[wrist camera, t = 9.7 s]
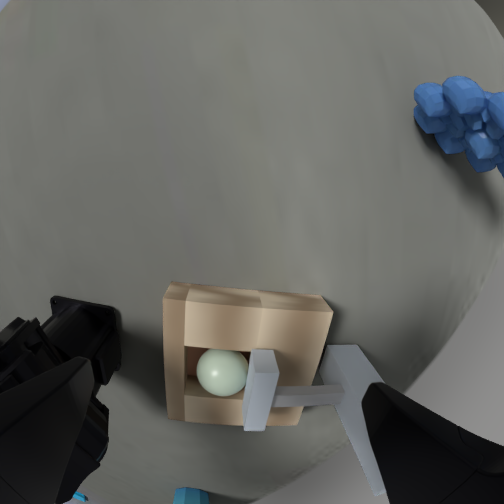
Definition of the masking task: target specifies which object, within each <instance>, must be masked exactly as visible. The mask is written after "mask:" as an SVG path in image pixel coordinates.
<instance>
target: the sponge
mask: <svg viewBox="0 0 504 504" xmlns="http://www.w3.org/2000/svg"><path fill="white" fill-rule="evenodd" d="M73 497H74V498H76V499H79V500H81V501H84V502H86V498H85V496H84V495H83V494H81V493H79V492H77V491H76V492H75V494H74V495H73Z"/></svg>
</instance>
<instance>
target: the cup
mask: <svg viewBox="0 0 504 504" xmlns="http://www.w3.org/2000/svg"><path fill="white" fill-rule="evenodd" d="M173 504H209V497H208V493H206V492H204V491H202V490H200V489H194V488H186V487H185V488H180V489H176V491H175V496H174V501H173Z"/></svg>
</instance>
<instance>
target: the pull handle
mask: <svg viewBox="0 0 504 504" xmlns="http://www.w3.org/2000/svg"><path fill="white" fill-rule="evenodd" d="M319 374H320V376H321V378H322V380H323V382H324V385H319V386H276V385H277V381H278V377H279V370H278V366H277V362H276V359H275V355H274V351H273V350H262V349H252V350H251V356H250V362H249V368H248V374H247V380H246V386H245V392H244V398H243V404H242V414H243V425H244V431H264V430H265V426H266V423H267V419H268V416H269V412H270V408H271V407H300V406H318V405H331V404H334V406H335V409H336V411H337V413H338V415H339V417H340V420H341V422H342V424H343V426H344V428H345V431H346V433H347V435H348V437H349V440H350V442H351V444H352V446H353V448H354V451H355V453H356V455H357V457H358V459H359V462H360V464H361V466H362V468H363V471H364V473H365V475H366V478H367V480H368V482H369V484H370V487H371V489H372V491H373V493H374V496H377V495H380V494H383V493H386V490H385V487H384V483H383V480H382V477H381V474H380V471H379V468H378V465H377V462H376V459H375V456H374V453H373V450H372V447H371V444H370V441H369V437H368V433H367V428H366V424H365V420H364V415H363V411H362V407H361V401H362V398H363V396H364V394H365V392H366V390H367V388H368V386H369V385H370V384H371V383H373V382H383V383H385V382H384V381H383V380H382V378H381V377H380V375H379V374H378V373H377V371H376V370H375V369H374V367H373V366H372V364H371V363H370V362H369V360H368V359H367V358H366V356H365V355H364V353H363V352H362V351H361V349H360V348H359V347H358V345H357V344H356V345H327V347H326V350H325V353H324V356H323V360H322V363H321V366H320V369H319Z"/></svg>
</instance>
